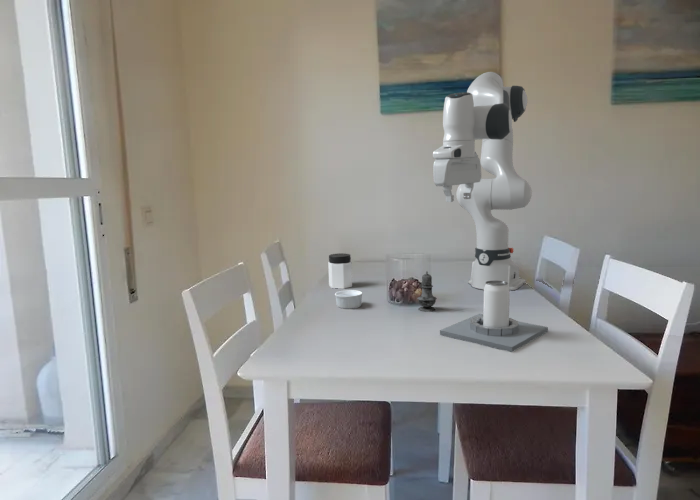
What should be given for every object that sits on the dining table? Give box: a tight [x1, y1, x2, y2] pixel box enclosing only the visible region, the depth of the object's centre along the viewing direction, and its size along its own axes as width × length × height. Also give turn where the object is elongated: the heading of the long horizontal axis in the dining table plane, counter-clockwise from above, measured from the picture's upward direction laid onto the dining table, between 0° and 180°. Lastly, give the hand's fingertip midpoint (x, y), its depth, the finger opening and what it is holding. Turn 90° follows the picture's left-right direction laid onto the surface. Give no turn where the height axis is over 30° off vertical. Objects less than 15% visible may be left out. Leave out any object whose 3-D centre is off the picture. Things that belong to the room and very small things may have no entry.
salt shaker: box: [417, 271, 437, 313], centre depth 156 cm, size 6×6×12 cm
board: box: [439, 313, 549, 353], centre depth 132 cm, size 20×20×1 cm
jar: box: [327, 253, 353, 290], centre depth 190 cm, size 9×8×12 cm
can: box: [482, 280, 511, 327], centre depth 132 cm, size 6×6×12 cm
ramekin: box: [334, 289, 363, 310], centre depth 163 cm, size 9×9×4 cm
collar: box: [470, 316, 519, 336], centre depth 132 cm, size 12×12×2 cm
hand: (458, 200), depth 146 cm, fingers open, 8 cm apart
